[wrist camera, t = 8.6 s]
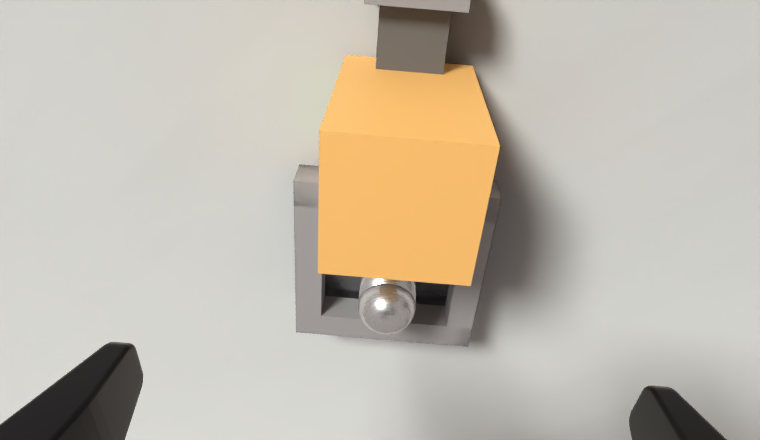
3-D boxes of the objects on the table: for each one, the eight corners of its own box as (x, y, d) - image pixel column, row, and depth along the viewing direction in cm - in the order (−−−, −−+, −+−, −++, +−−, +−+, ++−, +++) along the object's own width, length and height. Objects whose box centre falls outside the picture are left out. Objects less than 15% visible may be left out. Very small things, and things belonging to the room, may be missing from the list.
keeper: (477, 184, 20) (493, 264, 16) (453, 302, 23) (461, 390, 20) (315, 171, 20) (293, 247, 16) (315, 291, 23) (297, 377, 20)
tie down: (294, -355, 12) (210, -524, 7) (605, -329, 12) (747, -477, 7) (301, 311, 23) (270, 435, 18) (465, 325, 23) (481, 453, 18)
